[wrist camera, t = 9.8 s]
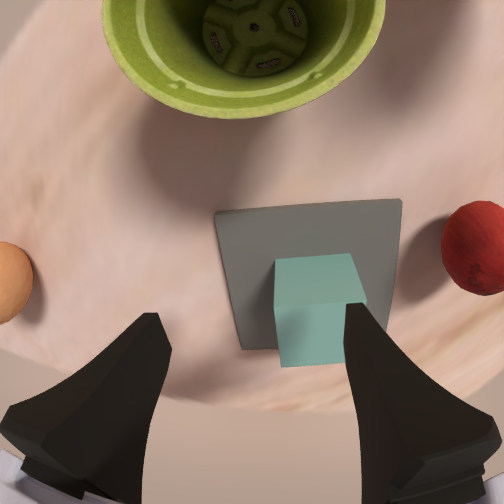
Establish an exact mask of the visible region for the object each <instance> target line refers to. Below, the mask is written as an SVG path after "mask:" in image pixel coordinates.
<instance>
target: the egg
mask: <svg viewBox="0 0 504 504" xmlns="http://www.w3.org/2000/svg"><path fill="white" fill-rule="evenodd" d="M32 284H33V272H32V268H31V264H30V261H29V259H28V257H27V255H26V254H25V253H24V252H23V250H21V249H20V248H19V247H17V246H16V245H14V244H11V243H8V242H0V325H1V324H3V323H6V322H8V321H10V320H11V319H12V318H14V317H15V316H16V315H17V314H18V313H19V312H20V311H21V310H22V309H23V307H24V306H25V305H26V303H27V301H28V299H29V297H30V294H31V291H32Z"/></svg>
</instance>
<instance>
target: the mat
mask: <svg viewBox="0 0 504 504" xmlns="http://www.w3.org/2000/svg"><path fill="white" fill-rule="evenodd" d="M401 217H402V201H401V200H400V199H378V200H359V201H342V202H326V203H312V204H298V205H286V206H273V207H262V208H251V209H240V210H230V211H220V212H215V214H214V218H215V223H216V228H217V234H218V239H219V244H220V249H221V254H222V259H223V264H224V268H225V273H226V278H227V283H228V288H229V292H230V297H231V302H232V307H233V311H234V316H235V320H236V325H237V330H238V334H239V339H240V343H241V348H242V350H253V349H279V347H278V338H277V330H276V322H275V314H274V286H275V259H285V258H297V257H309V256H322V255H334V254H345V253H350V254H351V257H352V259H353V262H354V265H355V267H356V270H357V273H358V276H359V279H360V281H361V284H362V287H363V290H364V293H365V296H366V299H367V303H366V307H367V308H368V310H369V311H370V313H371V314H372V315H373V317H374V318H375V319H376V321H377V322H378V323H379V324H380V326H381V327H382V328H383V329H384V331H385V332H386V329H387V324H388V319H389V313H390V308H391V302H392V295H393V289H394V282H395V275H396V267H397V259H398V250H399V240H400V229H401Z"/></svg>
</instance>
